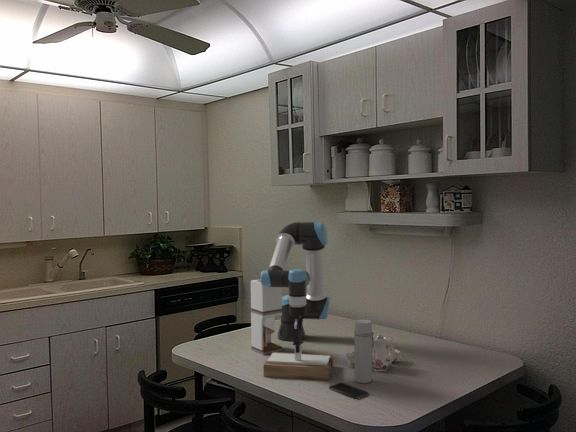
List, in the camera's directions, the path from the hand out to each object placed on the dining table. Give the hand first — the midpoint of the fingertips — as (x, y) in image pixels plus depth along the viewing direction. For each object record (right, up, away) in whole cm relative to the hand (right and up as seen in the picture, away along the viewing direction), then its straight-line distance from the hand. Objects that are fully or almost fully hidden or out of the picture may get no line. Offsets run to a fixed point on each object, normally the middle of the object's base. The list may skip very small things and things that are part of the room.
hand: (298, 359), depth 223 cm
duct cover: (0, -1, +2) cm, 3 cm away
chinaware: (+36, -6, +8) cm, 37 cm away
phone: (+19, -7, -21) cm, 30 cm away
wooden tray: (+1, -6, +3) cm, 7 cm away
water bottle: (+28, -7, -10) cm, 30 cm away
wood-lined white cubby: (-15, -5, +34) cm, 38 cm away
